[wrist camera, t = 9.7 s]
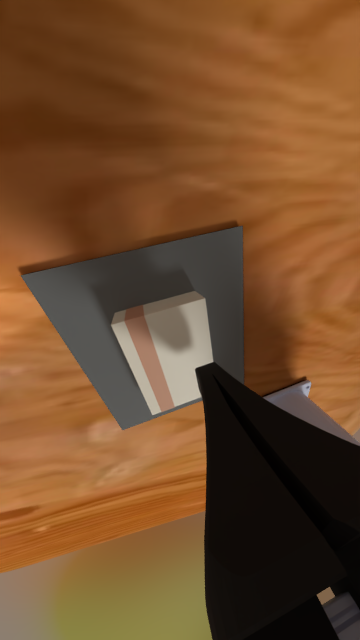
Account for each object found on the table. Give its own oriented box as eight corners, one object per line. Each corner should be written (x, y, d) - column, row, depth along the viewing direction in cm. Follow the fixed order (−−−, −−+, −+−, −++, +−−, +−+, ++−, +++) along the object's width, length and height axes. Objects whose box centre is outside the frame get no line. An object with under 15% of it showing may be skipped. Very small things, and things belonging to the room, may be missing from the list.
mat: (242, 382, 18) (244, 384, 18) (122, 426, 17) (122, 430, 16) (239, 226, 11) (242, 225, 11) (24, 274, 9) (20, 275, 9)
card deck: (217, 391, 14) (152, 415, 13) (208, 375, 16) (150, 395, 15) (205, 298, 10) (110, 324, 9) (194, 290, 12) (114, 312, 11)
